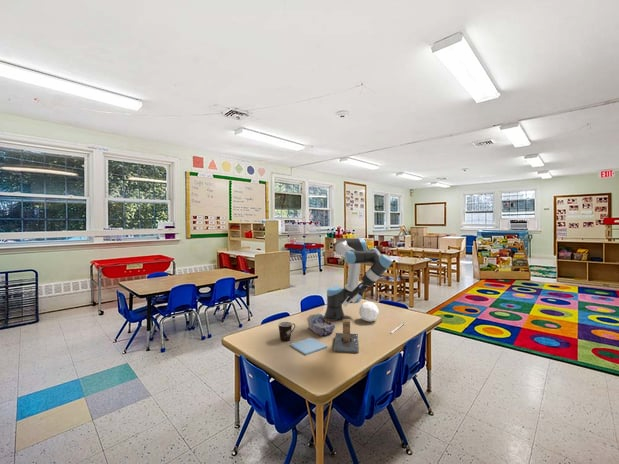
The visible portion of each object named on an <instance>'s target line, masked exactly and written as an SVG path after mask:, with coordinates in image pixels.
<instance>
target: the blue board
mask: <svg viewBox="0 0 619 464" xmlns="http://www.w3.org/2000/svg"><path fill="white" fill-rule="evenodd" d="M289 346H290V347H292V348H293V349H295V350H297V352H298V351H299V352H300V353H301V354H303V355H304V356H307V355H308V356H309V355H311V354H314V353H315V352H316V353H317V352H320V351H321V350H325V349H327V348H328V345H327V344H324V343H322V342H320V341H319V340H317V339H315V338H313V337H307V338H306V339H303V340H298V341H296V342H292V343H289Z"/></svg>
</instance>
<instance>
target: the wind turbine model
mask: <svg viewBox="0 0 619 464" xmlns="http://www.w3.org/2000/svg"><path fill="white" fill-rule="evenodd" d="M402 326H405V321H402V324H400V325H399V326H397V327H396V328H394V329H393V330H391V331H390V332H389V334H391V335H393V334H394V333H395V332H396V331H398V329H400V328H401V327H402Z"/></svg>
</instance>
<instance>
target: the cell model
mask: <svg viewBox="0 0 619 464" xmlns="http://www.w3.org/2000/svg"><path fill="white" fill-rule="evenodd" d="M307 325H308V329H310V330H312V332H314V333H315V334H316V335H319V336H320V337H322V336H326V335H327V336H328V335H329V334H331V333H333V332H334V330H335V328H336V323H333V322H332V320H329V319H326V318H325V316H323V314H321V313H315V314H310V315H308V317H307Z"/></svg>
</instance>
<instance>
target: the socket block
mask: <svg viewBox="0 0 619 464" xmlns="http://www.w3.org/2000/svg"><path fill="white" fill-rule="evenodd" d="M358 335H359V334H358V333H350V342H343V332H342V333H341V332H336V333H335V335H334V336H335V338H334V345H333V349H334V350H333V351H334V352H339V353H355V354H359V353H360V352H359V351H360V350H359V348H360V345H359V336H358Z"/></svg>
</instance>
